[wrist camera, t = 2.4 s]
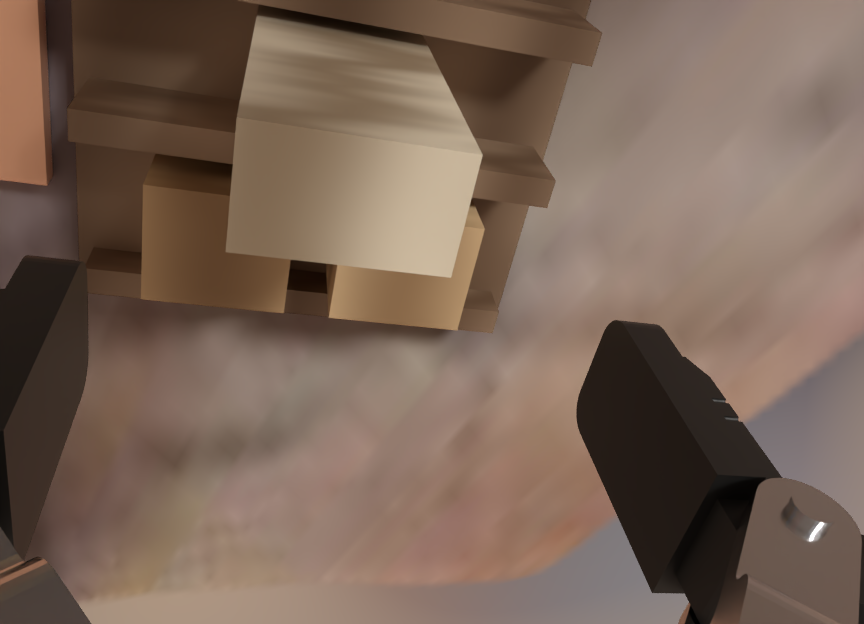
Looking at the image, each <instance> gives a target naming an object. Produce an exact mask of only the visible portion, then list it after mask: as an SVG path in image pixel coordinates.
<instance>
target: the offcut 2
mask: <svg viewBox="0 0 864 624" xmlns="http://www.w3.org/2000/svg"><path fill="white" fill-rule="evenodd" d="M484 230H485V228H484V226H483V224H482V221H481V219H480V217H479V214H478V212H477V209H476V207H475V205H474V202H473V200H472V199H471V203H470V206H469V210H468V214H467V218H466V222H465V226H464V230H463V234H462V237H461V241H460V245H459V249H458V253H457V257H456V261H455V264H454V268H453V272H452V276H451V278H448V277H439V276H431V275H422V274H413V273H404V272H396V271H387V270H378V269H369V268H360V267H352V266H343V265H334V264H326V277H327V295H328V314H329V318H336V319H346V320H356V321H367V322H377V323H387V324H397V325H407V326H417V327H428V328H438V329H448V330H457V329H458V325H459V322H460V318H461V314H462V311H463V307H464V303H465V300H466V296H467V292H468V289H469V285H470V282H471V278H472V274H473V271H474V267H475V263H476V260H477V256H478V252H479V249H480V245H481V241H482V238H483V234H484Z"/></svg>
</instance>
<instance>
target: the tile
mask: <svg viewBox="0 0 864 624" xmlns="http://www.w3.org/2000/svg"><path fill="white" fill-rule="evenodd" d="M52 177H53V163H52V142H51V121H50V99H49V78H48V56H47V35H46V14H45V0H0V180H5V181H13V182H21V183H29V184H37V185H45V186H47V185H48V183H49V182H50V180H51V179H52Z"/></svg>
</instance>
